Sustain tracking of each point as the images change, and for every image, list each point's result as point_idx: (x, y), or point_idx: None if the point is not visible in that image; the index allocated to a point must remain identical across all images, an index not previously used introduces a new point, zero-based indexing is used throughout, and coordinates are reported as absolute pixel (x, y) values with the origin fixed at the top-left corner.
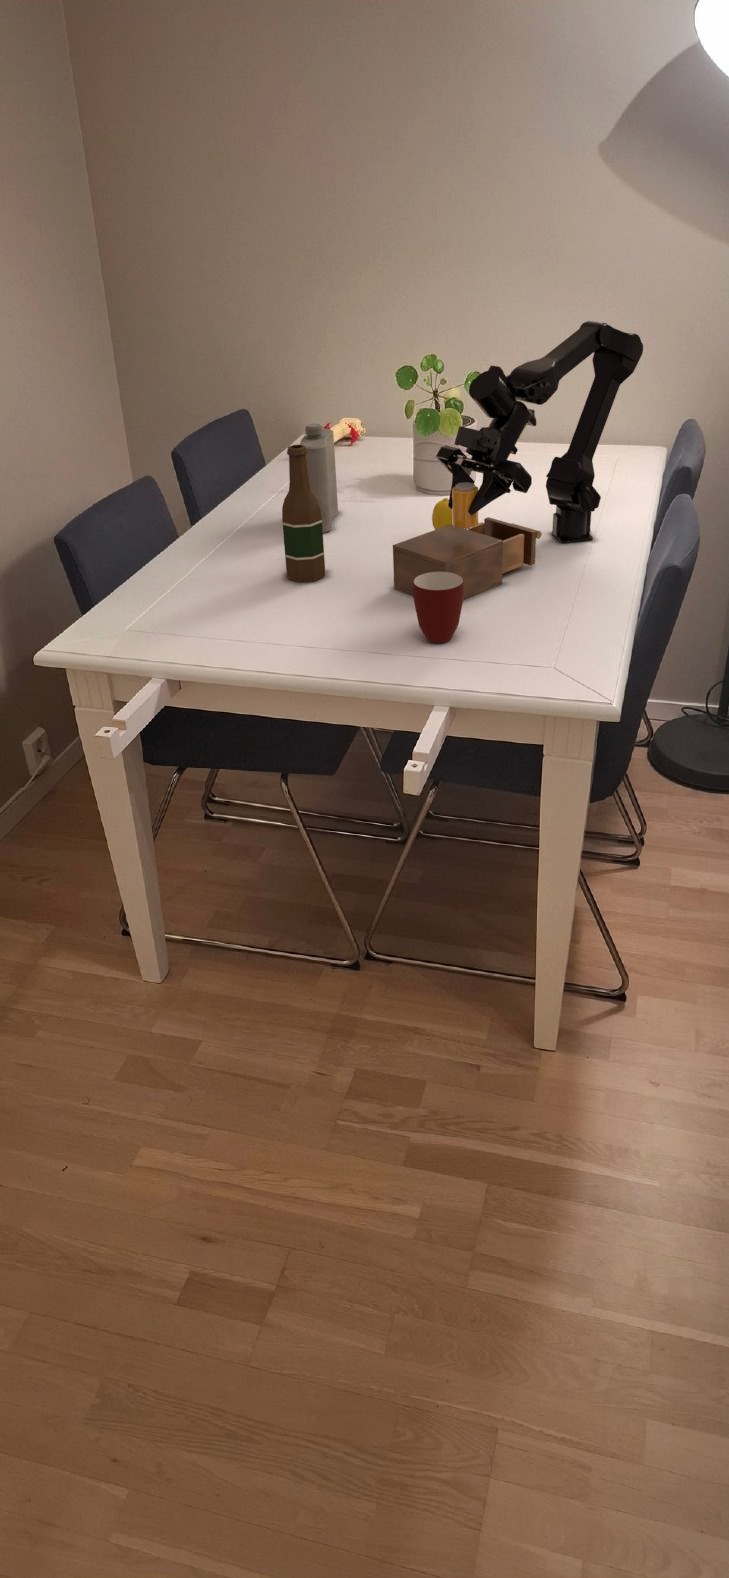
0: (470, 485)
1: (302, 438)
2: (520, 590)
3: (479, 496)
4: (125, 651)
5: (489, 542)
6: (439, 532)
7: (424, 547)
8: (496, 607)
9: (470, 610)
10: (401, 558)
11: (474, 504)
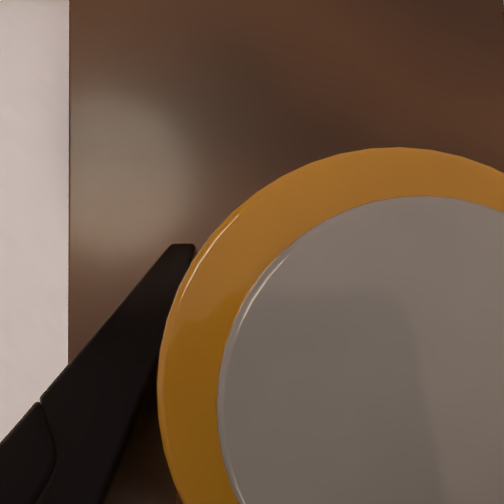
0: (333, 473)
1: None
2: (45, 366)
3: (60, 376)
4: None
5: None
6: None
7: (333, 13)
8: (3, 186)
9: (54, 104)
10: None
11: (129, 294)
